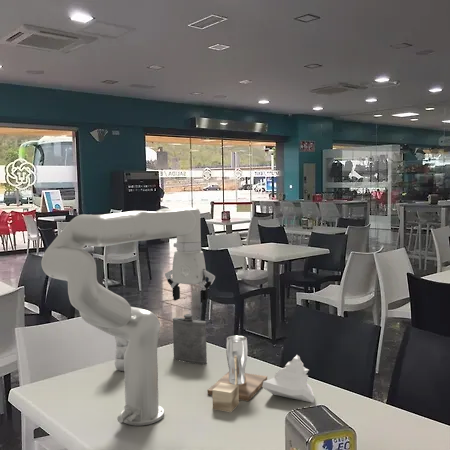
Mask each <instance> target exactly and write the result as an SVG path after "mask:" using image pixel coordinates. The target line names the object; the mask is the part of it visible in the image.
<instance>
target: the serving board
mask: <svg viewBox="0 0 450 450" xmlns="http://www.w3.org/2000/svg"><path fill="white" fill-rule="evenodd" d="M245 376H246V381H247V383H246V384H245V385H243V386H239V401H246V402H249V401H250V400H251V399H252V398H253V397H254V396H255V395H256V394H257V393H258V391H259V390H261V388H263V387H262V386H263V381H266V380H268V375H260V374H254V373H247V372H245ZM228 379H229V371H228V372H226V373H225V374H224V375H223V376H222V377H221V378H219V379H218V380H216V382H215V383H214V384H213V385H211V386H210V387H209V388H208V389H207V395H209V396H212V390H213V389H214V388H215V387H216V386H217V385H218V384H220V383H226V384H228Z"/></svg>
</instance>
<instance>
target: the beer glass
mask: <svg viewBox="0 0 450 450" xmlns="http://www.w3.org/2000/svg"><path fill="white" fill-rule="evenodd" d="M247 339H248V338H247V337H246V336H243V335H229V336H228V337H226V346H225V347H226V350H225V351H226V354H225V355H226V361H227V366H228V372H229V379H228V384H233V385H239V386H243V385H245V384H246V383H247V381H246V376H245V373H246V367H247V362H248V352H249V351H248V340H247Z"/></svg>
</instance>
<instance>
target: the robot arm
mask: <svg viewBox="0 0 450 450" xmlns="http://www.w3.org/2000/svg"><path fill="white" fill-rule="evenodd" d="M201 233H202V232H201V211H200V209H198V208H196V207H182V208H160V209H158V210H156V211H149V210H148V211H147V210H129V211H123V212H122V211H121V212H115V213H104V214H79V215H76V216H75V217H73V218H72V219H70V221H69V222H68V223H67V224H66V225H65V226H64V228H63V229H62V230H61V231H59V233H58V235H57V236H56V237H55V238H54V239H53V241H52V242H51V243H50V244H49V246H48V247H47V248H46V249H45V251H44V253H43V254H42V255H43V256H42V259H41V261H40V263H41V268H42V270H43V272H44V274H45V275H46V276H48V277H50V278H52V279H55V280H60V281H66V282H67V294H68V299H69V302H70V304H71V306H72V307H73V308H75V309H76V310H77V311H78V312H79V316H80V317H81V319H82V320H83V321H84V322H85V323H87V324H88V325H90V326H92V327H94V328H96V329H98V330H100V331H102V332H104V333H106V334H109V335H111V336H114V338H115V337H119V338H122V339H125V340H128V341H129V343H128V346H127V349H126V351H125V355H124V371H123V373H124V401H125V405H124V407H123V408H124V409H123V410H121V412H120V415H118V416H117V418H116V419H117V422H119V423H121V424H122V423H125V424H126V425H130V426H147V425H151V424H154V423H157V422H159V421H161V420H162V419H163V418H164V416H165V410H164V408H163V407H162V406H161V405H160V404H159V371H158V369H159V368H158V365H159V364H158V343H159V337H160V331H161V330H160V329H161V322H160V319H159V318H158V316H157V315H156V314H155V313H154V312H152V311H150V310H148V309H144V308H141V307H140V308H139V307H135V306H131V305H130V303H129V302H128V300H127V299H126V298H124V297H122V296H121V295H119V294H117V293H115V292H113V291H112V290H109V289H107V288H106V287H104V286H103V285H102V284H100V283H99V282H98V279H97V264H96V263H97V262H96V261H95V259H94V256H92V254H91V253H89V252H88V251H86V250H84V248H85V247H86V246H89V247H95V248H97V247H98V248H99V247H103V248H104V247H108V246H115V245H120V244H126V243H133V242H140V241H150V240H158V239H168V238H176V242H174V243H173V247H174V248H176V250H175V251H174V253H173V257H172V258H173V259H172V268H171V270H169V271H167V272H166V273H165V274H164V276H165V278H166V280H167V283H168V284H169V285H170V288H172V299H173V301H177V300H180V299H181V288H180V286H179V285H180V284H181V285H182V284H183V285H198V286H199V287H200V288H201V290H200V291H199V292H200V303H202V304H203V303H205V302H207V301H208V299H209V296H208V294H209V293H208V291H209V288H210V287H211V286H212V285H213V284H214V281H215V279H216V275H214V274H213V273H211V272H209V270H207V269H206V262H205V256H204V251H202V244H201V243H202V241H201V240H202V239H201V238H202V236H201ZM207 278H208V281H206V279H207Z"/></svg>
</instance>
